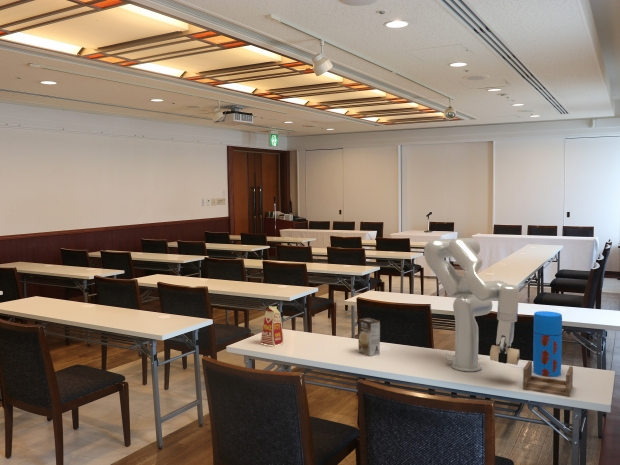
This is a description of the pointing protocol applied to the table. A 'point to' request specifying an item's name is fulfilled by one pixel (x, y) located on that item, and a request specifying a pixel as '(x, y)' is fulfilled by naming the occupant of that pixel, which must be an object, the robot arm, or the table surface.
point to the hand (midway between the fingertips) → (504, 359)
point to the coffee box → (369, 336)
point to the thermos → (547, 343)
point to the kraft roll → (511, 354)
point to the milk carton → (272, 327)
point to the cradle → (547, 382)
